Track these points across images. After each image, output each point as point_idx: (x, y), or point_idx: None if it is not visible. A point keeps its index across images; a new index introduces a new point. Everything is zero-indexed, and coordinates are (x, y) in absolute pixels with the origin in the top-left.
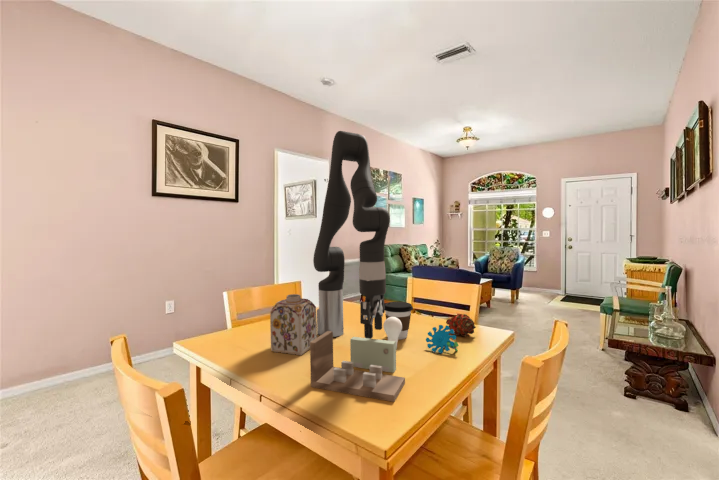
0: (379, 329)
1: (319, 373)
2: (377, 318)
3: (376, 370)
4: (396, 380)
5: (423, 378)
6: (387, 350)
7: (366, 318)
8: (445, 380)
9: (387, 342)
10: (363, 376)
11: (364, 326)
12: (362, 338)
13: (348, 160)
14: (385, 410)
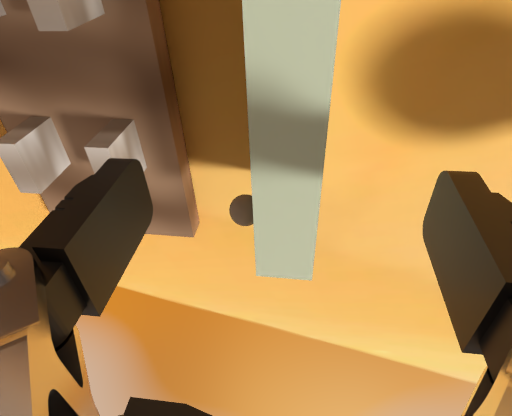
0: (427, 214)
1: None
2: (475, 302)
3: None
4: (155, 217)
5: None
6: (239, 224)
7: (39, 329)
8: (274, 308)
9: (273, 245)
10: (3, 139)
11: (46, 232)
12: (309, 28)
13: None
14: (13, 201)
